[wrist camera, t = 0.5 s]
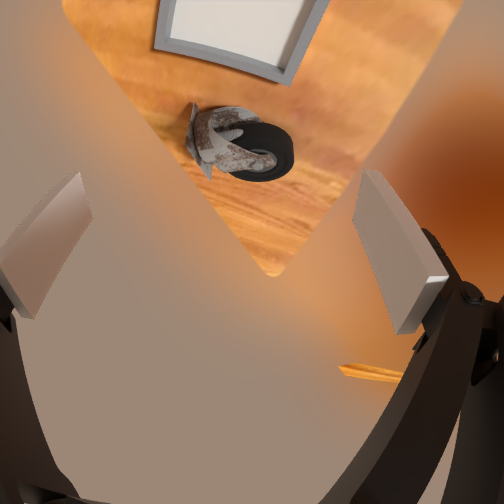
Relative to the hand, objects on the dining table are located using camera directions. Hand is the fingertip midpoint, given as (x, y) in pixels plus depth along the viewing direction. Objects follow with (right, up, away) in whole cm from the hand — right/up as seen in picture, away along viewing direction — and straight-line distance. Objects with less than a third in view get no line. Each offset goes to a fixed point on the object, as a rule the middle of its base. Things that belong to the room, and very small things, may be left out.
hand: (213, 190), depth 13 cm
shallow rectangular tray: (+1, +20, +5) cm, 21 cm away
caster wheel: (+2, +12, +20) cm, 24 cm away
